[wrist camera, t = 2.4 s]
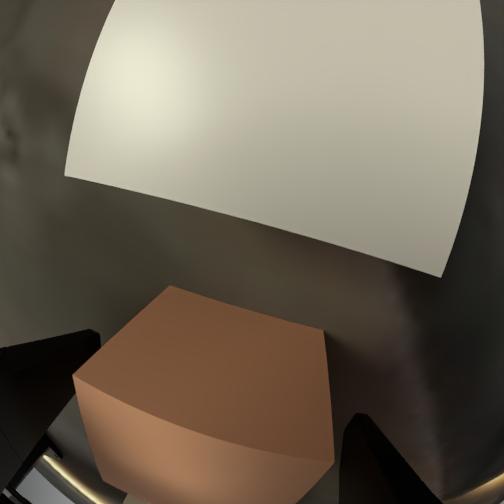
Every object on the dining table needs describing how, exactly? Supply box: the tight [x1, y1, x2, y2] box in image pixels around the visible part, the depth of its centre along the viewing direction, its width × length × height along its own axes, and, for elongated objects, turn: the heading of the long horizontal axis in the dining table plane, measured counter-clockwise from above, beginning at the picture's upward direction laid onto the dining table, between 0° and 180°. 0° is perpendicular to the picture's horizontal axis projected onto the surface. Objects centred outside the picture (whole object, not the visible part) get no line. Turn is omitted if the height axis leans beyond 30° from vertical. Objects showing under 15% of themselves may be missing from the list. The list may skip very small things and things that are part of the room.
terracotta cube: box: [73, 286, 335, 504], centre depth 7 cm, size 5×5×5 cm
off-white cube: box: [64, 0, 484, 278], centre depth 5 cm, size 5×5×5 cm
